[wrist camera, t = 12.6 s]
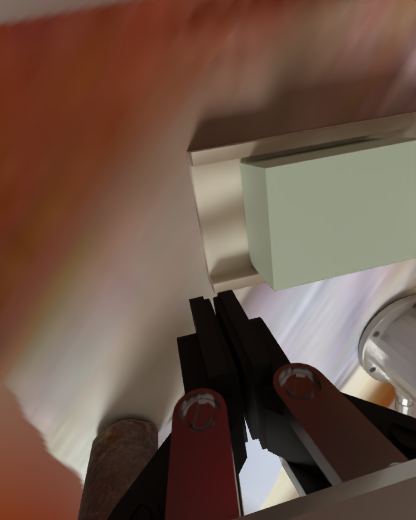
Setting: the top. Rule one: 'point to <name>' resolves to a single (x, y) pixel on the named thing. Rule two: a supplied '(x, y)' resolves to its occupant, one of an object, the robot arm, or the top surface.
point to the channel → (231, 195)
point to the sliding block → (330, 210)
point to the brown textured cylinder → (116, 465)
